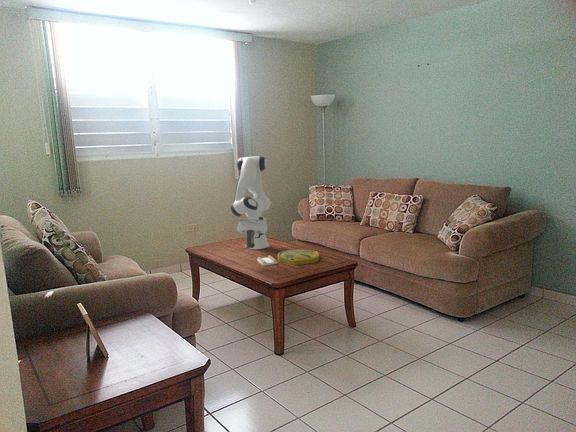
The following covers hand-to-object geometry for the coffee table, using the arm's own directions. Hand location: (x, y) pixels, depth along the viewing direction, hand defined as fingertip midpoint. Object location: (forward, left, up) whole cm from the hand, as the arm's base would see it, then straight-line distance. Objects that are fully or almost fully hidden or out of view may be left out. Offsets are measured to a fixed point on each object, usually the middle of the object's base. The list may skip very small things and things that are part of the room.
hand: (250, 237), depth 290 cm
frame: (-1, 0, -6) cm, 6 cm away
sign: (-14, +32, -20) cm, 40 cm away
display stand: (-7, +10, -19) cm, 23 cm away
